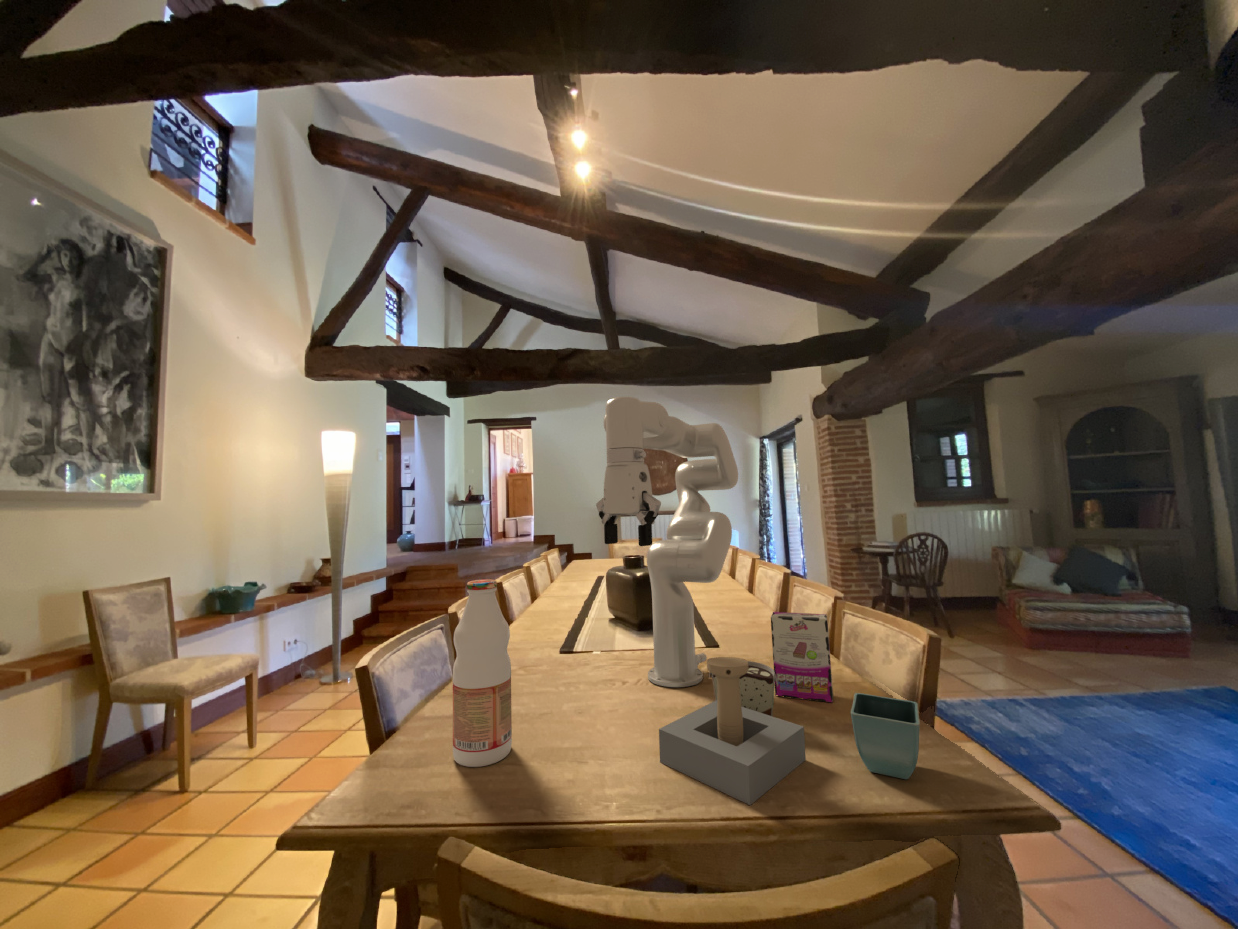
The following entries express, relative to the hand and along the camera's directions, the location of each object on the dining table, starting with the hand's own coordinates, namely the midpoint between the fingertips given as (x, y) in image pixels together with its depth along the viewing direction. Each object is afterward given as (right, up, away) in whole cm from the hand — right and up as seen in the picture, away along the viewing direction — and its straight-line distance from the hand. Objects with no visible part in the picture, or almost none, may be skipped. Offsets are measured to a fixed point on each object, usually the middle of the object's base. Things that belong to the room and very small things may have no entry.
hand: (627, 544), depth 98 cm
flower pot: (+38, -30, -25) cm, 55 cm away
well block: (+16, -30, -21) cm, 40 cm away
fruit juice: (-24, -32, -17) cm, 43 cm away
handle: (+16, -31, -21) cm, 40 cm away
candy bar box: (+36, -32, +4) cm, 49 cm away
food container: (+22, -32, -7) cm, 39 cm away
